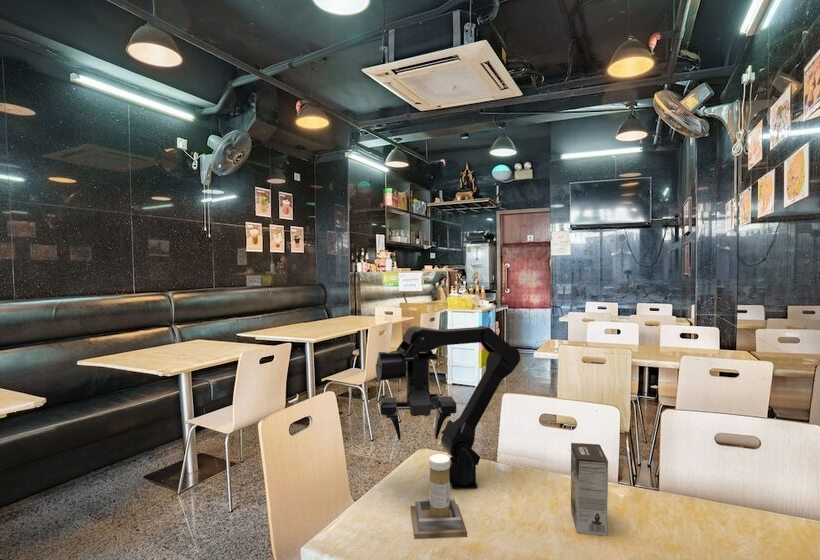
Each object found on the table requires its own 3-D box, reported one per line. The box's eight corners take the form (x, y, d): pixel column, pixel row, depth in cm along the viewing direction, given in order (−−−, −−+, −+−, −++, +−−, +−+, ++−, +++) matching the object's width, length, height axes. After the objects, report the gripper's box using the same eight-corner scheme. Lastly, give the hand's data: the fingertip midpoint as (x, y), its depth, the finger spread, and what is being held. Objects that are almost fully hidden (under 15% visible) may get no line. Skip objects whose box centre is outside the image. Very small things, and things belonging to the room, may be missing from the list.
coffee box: (569, 510, 102) (570, 441, 102) (599, 513, 101) (599, 443, 100) (576, 533, 93) (576, 458, 93) (608, 537, 92) (609, 460, 91)
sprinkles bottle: (437, 510, 100) (437, 451, 100) (454, 517, 97) (454, 456, 97) (425, 519, 97) (425, 458, 96) (442, 526, 94) (442, 464, 93)
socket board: (457, 508, 103) (457, 495, 103) (467, 536, 92) (467, 522, 92) (410, 510, 102) (410, 497, 102) (414, 538, 91) (414, 524, 91)
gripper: (380, 386, 102) (380, 453, 102) (460, 385, 103) (460, 451, 104) (380, 375, 113) (380, 435, 113) (452, 374, 114) (452, 433, 115)
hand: (417, 439), depth 111 cm, fingers open, 9 cm apart
